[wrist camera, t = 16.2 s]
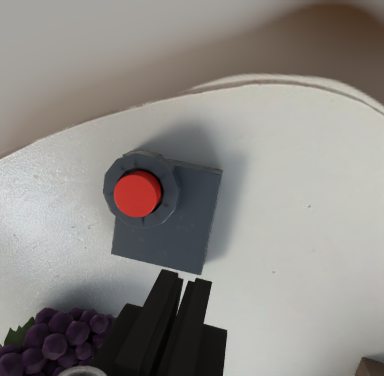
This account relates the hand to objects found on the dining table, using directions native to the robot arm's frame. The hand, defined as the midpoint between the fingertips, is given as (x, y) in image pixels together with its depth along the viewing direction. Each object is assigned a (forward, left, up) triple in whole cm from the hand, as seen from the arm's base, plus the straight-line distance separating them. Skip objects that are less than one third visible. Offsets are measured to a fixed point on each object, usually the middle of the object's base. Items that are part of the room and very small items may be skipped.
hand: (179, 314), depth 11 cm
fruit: (+22, -13, -21) cm, 33 cm away
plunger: (+2, -6, -18) cm, 19 cm away
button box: (+5, -4, -21) cm, 22 cm away
